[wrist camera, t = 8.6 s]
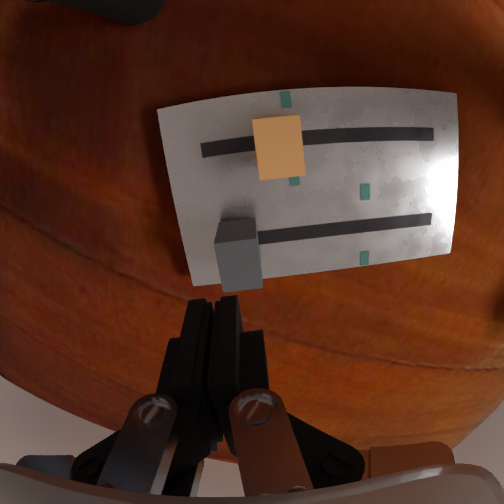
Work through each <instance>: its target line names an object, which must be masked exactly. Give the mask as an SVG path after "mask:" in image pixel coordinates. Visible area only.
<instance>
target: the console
mask: <svg viewBox="0 0 504 504" xmlns="http://www.w3.org/2000/svg"><path fill="white" fill-rule="evenodd" d="M157 112H158V119H159V125H160V131H161V136H162V142H163V148H164V153H165V159H166V164H167V169H168V174H169V180H170V185H171V190H172V195H173V199H174V204H175V209H176V214H177V218H178V223H179V227H180V232H181V236H182V241H183V245H184V249H185V254H186V258H187V262H188V266H189V270H190V274H191V278H192V283H193V286H201V285H210V284H220V283H221V279H220V274H219V269H218V264H217V259H216V254H215V249H214V240H215V236H216V232H217V228H218V224H219V222H224V221H231V220H239V219H247V218H255V219H256V226H257V234H258V242H259V249H260V257H261V267H262V279H264V278H273V277H281V276H289V275H298V274H306V273H313V272H321V271H329V270H337V269H344V268H352V267H359V266H366V265H373V264H380V263H387V262H394V261H401V260H408V259H415V258H421V257H428V256H434V255H441V254H447V253H450V251H451V244H452V237H453V229H454V220H455V210H456V198H457V182H458V110H457V94H456V93H450V92H441V91H431V90H420V89H407V88H388V87H321V88H302V89H287V90H276V91H265V92H256V93H248V94H240V95H233V96H226V97H219V98H213V99H207V100H201V101H196V102H190V103H185V104H180V105H175V106H171V107H166V108H161V109H157ZM287 114H295V115H300V122H301V131H302V141H303V151H304V162H305V173H306V176H296V177H287V178H277V179H269V180H260V179H259V172H258V165H257V158H256V150H255V142H254V134H253V127H252V119H251V118H258V117H267V116H276V115H287Z"/></svg>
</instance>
